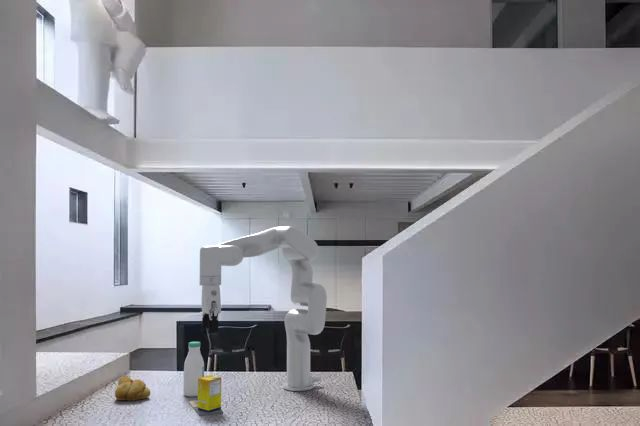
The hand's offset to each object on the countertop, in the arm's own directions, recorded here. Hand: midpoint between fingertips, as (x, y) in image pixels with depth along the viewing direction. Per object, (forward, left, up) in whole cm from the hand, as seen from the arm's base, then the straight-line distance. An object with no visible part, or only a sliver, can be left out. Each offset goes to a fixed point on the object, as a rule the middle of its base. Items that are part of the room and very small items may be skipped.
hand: (210, 330), depth 193 cm
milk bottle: (0, -24, -28) cm, 37 cm away
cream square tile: (0, -9, -28) cm, 29 cm away
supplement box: (0, 0, -27) cm, 27 cm away
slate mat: (0, 0, -28) cm, 28 cm away
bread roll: (+22, -28, -28) cm, 45 cm away
